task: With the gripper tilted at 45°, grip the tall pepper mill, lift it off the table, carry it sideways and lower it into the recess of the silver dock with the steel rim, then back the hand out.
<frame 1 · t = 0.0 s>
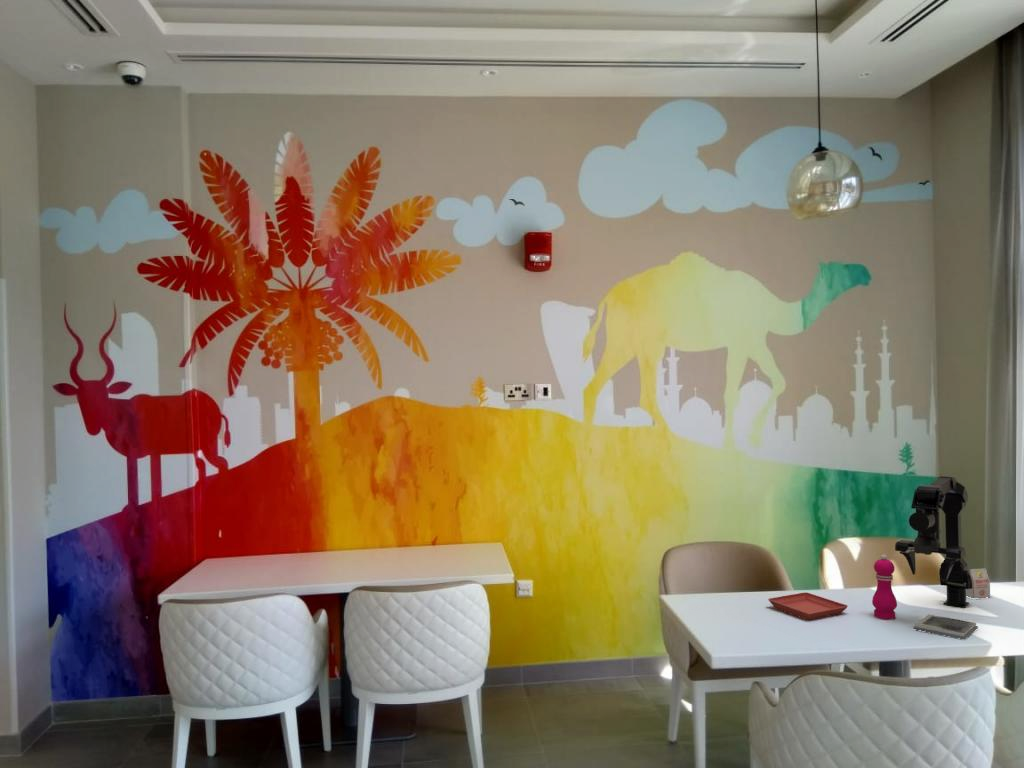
hand: (929, 576, 242), 15 cm above the table, tool pointing down, fingers open, 9 cm apart
silver dock: (945, 629, 236), on the table
pepper mill: (884, 617, 250), on the table
plant saucer: (807, 612, 257), on the table
tea bag: (977, 598, 270), on the table
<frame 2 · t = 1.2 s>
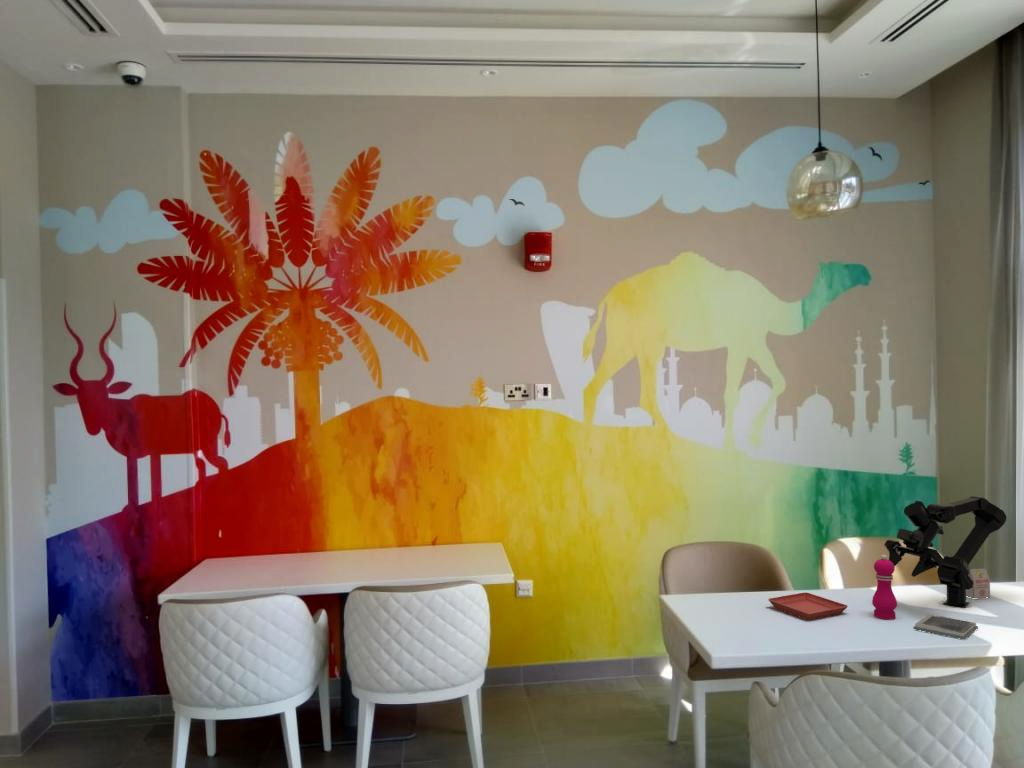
hand: (900, 572, 252), 13 cm above the table, tool tilted 45°, fingers open, 9 cm apart
nothing on the table moved.
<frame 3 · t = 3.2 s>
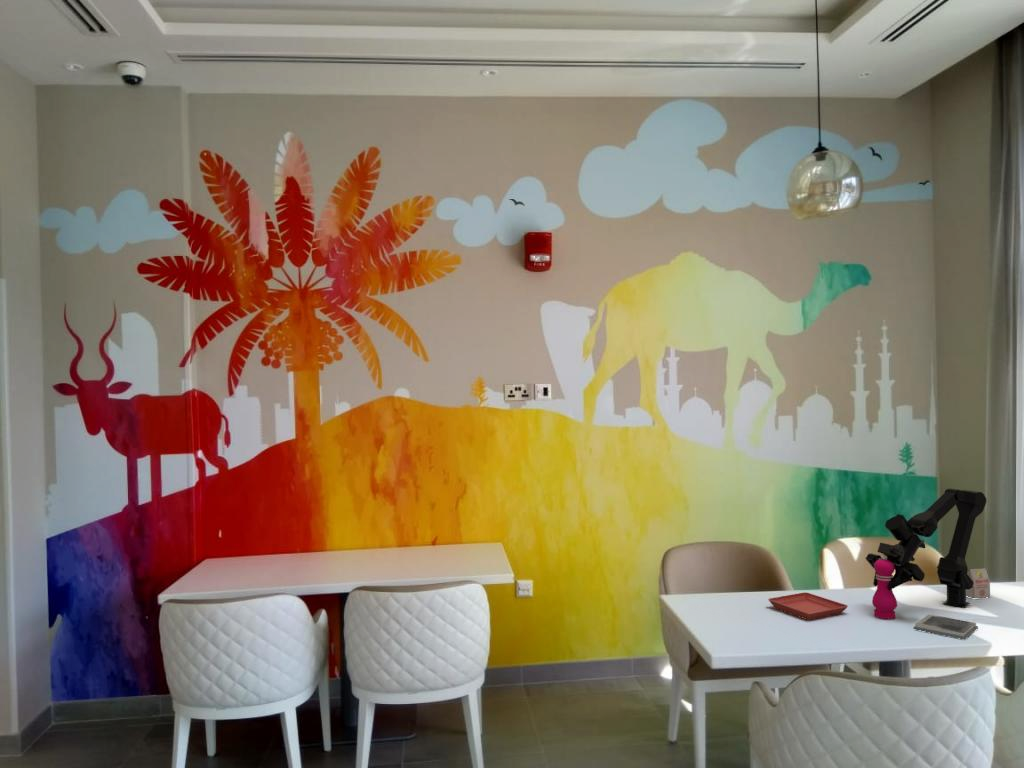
hand: (881, 587, 249), 10 cm above the table, tool tilted 45°, fingers closed on pepper mill, 5 cm apart
pepper mill: (884, 617, 250), on the table, touching gripper
everything else where it was.
when the fingers open (11 cm above the table, at t = 7.9 s): pepper mill stays where it is, resting on silver dock.
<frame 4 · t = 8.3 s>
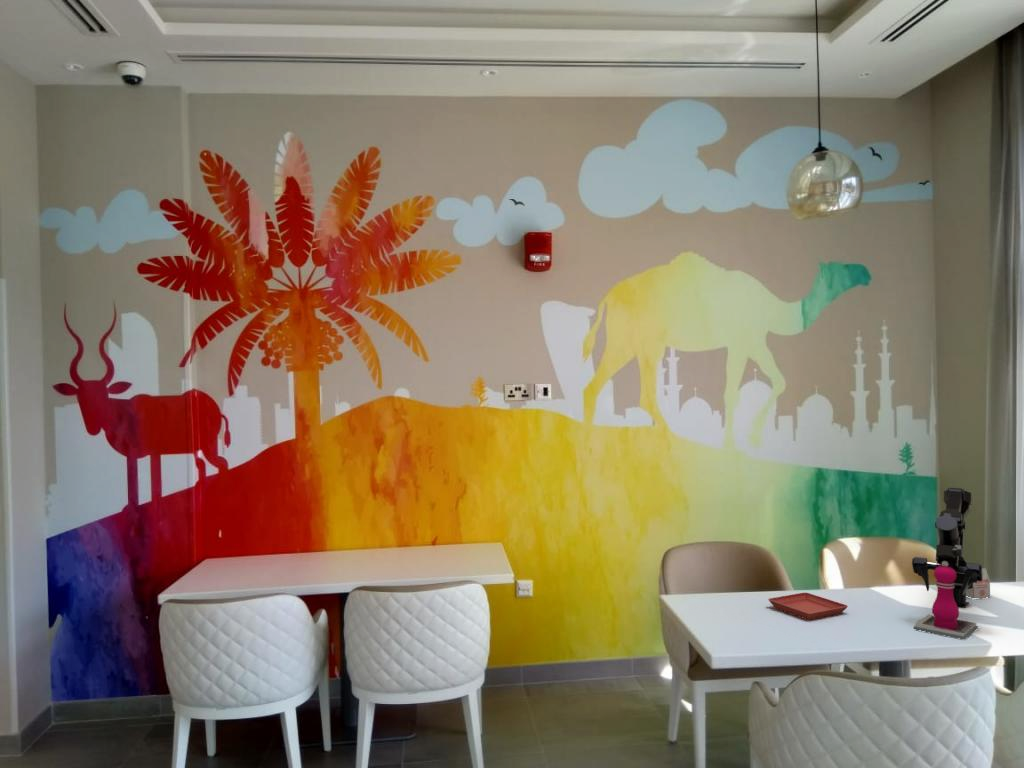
hand: (944, 592, 235), 12 cm above the table, tool tilted 45°, fingers open, 9 cm apart
pepper mill: (945, 627, 237), point 1 cm above the table, touching silver dock
everything else where it was.
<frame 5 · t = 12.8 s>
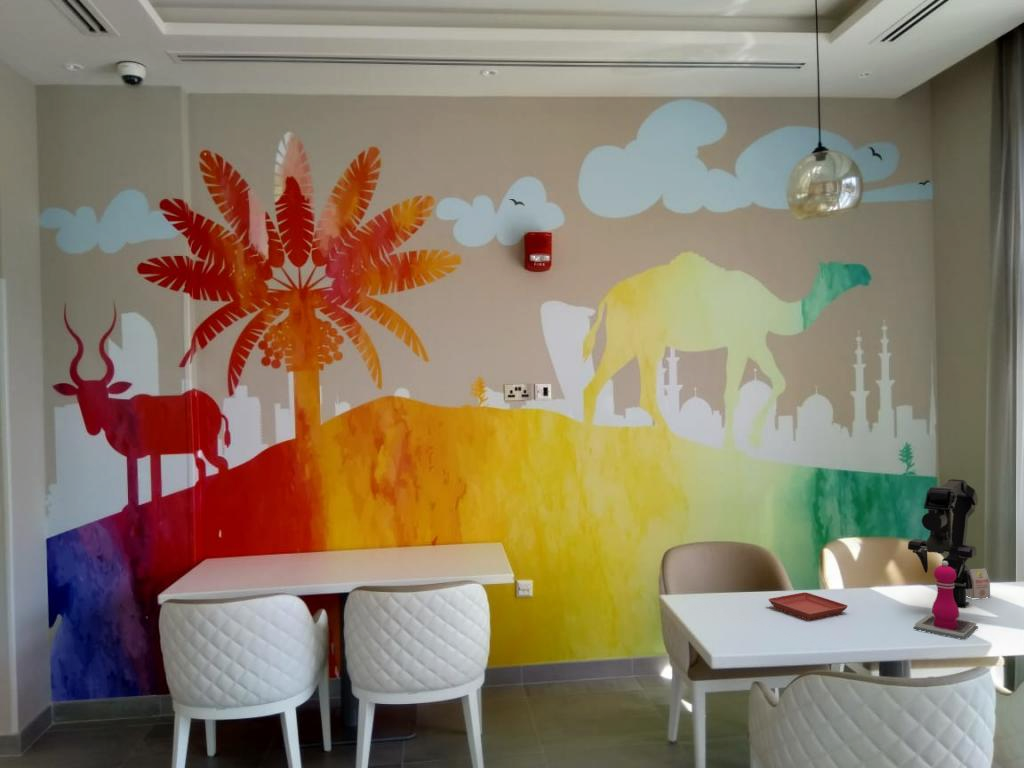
hand: (941, 574, 251), 13 cm above the table, tool pointing down, fingers open, 9 cm apart
nothing on the table moved.
at the end: pepper mill 0.3 cm off-centre on the silver dock, point 0.6 cm above the silver dock's base; pepper mill tilted 0°; the gripper is holding nothing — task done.
